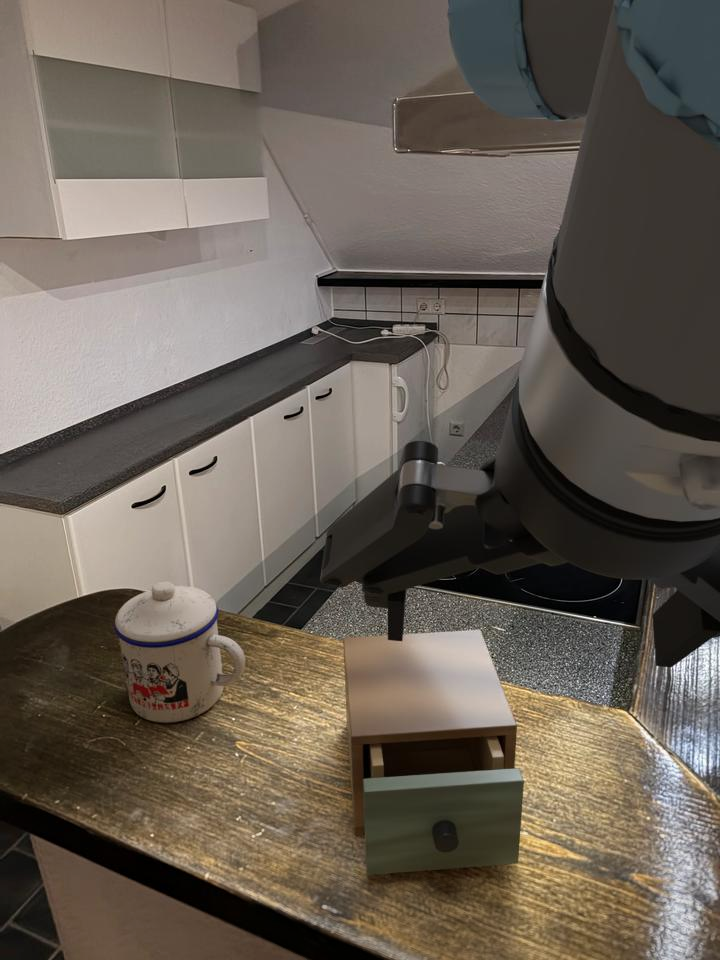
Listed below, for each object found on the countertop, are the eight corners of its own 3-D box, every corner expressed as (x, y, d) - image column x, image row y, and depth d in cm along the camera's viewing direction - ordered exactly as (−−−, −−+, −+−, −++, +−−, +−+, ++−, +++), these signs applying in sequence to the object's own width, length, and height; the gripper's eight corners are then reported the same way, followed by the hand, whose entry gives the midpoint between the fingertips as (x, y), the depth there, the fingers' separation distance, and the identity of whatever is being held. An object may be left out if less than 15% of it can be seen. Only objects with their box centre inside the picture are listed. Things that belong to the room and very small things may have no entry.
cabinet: (511, 824, 56) (517, 725, 53) (354, 836, 56) (350, 736, 52) (477, 716, 68) (480, 629, 64) (346, 725, 67) (343, 637, 64)
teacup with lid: (106, 714, 69) (86, 603, 65) (164, 657, 77) (149, 555, 73) (223, 743, 65) (209, 627, 61) (270, 681, 73) (261, 574, 69)
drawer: (523, 879, 51) (529, 794, 48) (368, 890, 50) (365, 806, 48) (483, 751, 62) (487, 676, 60) (356, 759, 62) (354, 685, 59)
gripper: (178, 492, 20) (280, 676, 39) (1201, 578, 18) (786, 727, 37) (230, 275, 23) (301, 540, 42) (1097, 327, 21) (766, 581, 40)
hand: (527, 628), depth 40 cm, fingers open, 13 cm apart
